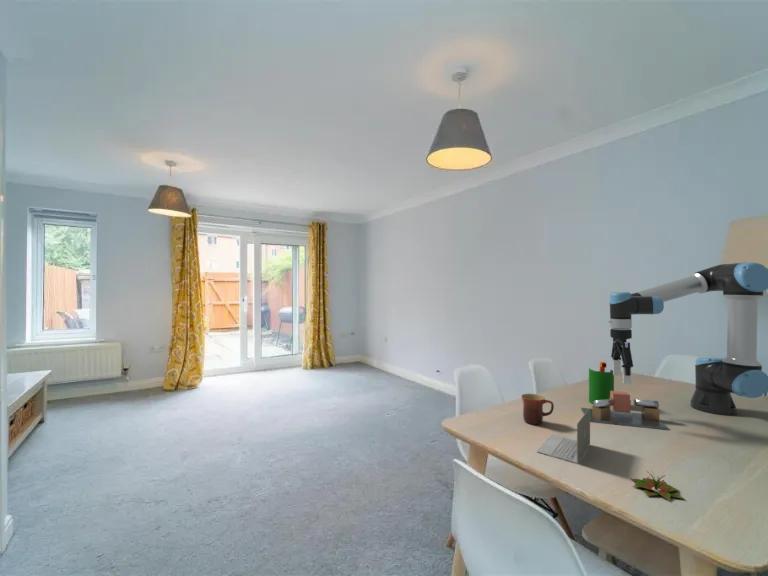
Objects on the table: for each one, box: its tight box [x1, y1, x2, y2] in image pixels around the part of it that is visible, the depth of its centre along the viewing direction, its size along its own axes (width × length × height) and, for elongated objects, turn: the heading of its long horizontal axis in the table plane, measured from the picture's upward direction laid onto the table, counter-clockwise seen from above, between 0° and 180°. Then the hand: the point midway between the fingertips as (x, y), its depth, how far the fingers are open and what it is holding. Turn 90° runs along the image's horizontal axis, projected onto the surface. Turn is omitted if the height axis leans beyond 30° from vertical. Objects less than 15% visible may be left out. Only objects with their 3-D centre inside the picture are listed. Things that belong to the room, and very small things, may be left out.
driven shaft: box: [591, 399, 615, 420], centre depth 147 cm, size 8×4×7 cm, turn 106°
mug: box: [521, 393, 555, 426], centre depth 144 cm, size 12×9×10 cm
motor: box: [588, 361, 615, 408], centre depth 167 cm, size 10×9×20 cm
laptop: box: [536, 408, 591, 465], centre depth 121 cm, size 18×12×13 cm
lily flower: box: [629, 470, 686, 502], centre depth 97 cm, size 12×12×5 cm
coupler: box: [609, 390, 632, 412], centre depth 150 cm, size 7×4×7 cm, turn 71°
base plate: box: [580, 398, 669, 431], centre depth 148 cm, size 27×15×8 cm, turn 71°
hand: (621, 379), depth 150 cm, fingers open, 13 cm apart
